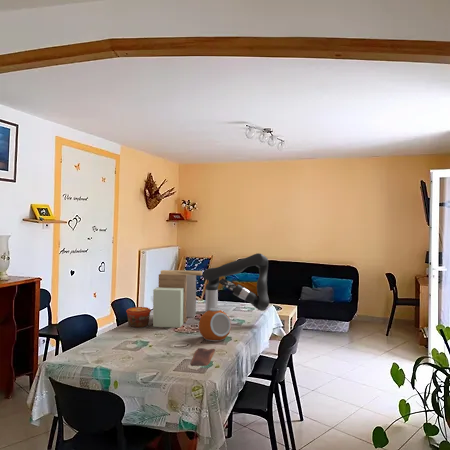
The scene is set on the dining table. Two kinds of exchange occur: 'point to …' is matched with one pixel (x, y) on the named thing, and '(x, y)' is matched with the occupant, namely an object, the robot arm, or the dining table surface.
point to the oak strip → (180, 272)
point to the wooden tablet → (202, 357)
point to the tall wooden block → (175, 282)
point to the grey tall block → (191, 296)
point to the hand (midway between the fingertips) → (220, 280)
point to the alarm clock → (214, 325)
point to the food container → (138, 317)
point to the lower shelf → (167, 307)
